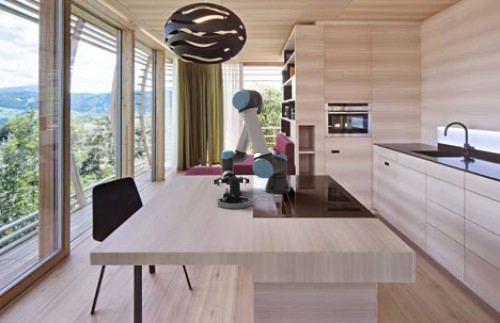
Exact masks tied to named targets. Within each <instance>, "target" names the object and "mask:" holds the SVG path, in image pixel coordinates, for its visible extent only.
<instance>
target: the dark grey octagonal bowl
mask: <svg viewBox="0 0 500 323" xmlns="http://www.w3.org/2000/svg"><path fill="white" fill-rule="evenodd" d="M222 199H223V197H220V198H217V199H216V205H217V207H219V208H223V209H226V210H229V209H231V210H233V209H234V210H235V209H236V210H237V209H246V208H248V207H252V206H253V200H252V198H251V197H247V196H240V197H239V203H225V202H223V200H222Z"/></svg>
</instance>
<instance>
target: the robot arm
mask: <svg viewBox="0 0 500 323" xmlns="http://www.w3.org/2000/svg"><path fill="white" fill-rule="evenodd" d="M263 102H264V101H263V97H262V94H261V93H260V92H258V91H257V90H254V89H245V88H244V89H243V88H242V89H238V90H236V91H235V92H234V93H233V95H232V97H231V104H232V106H233V107H234V108H235V109H236V110H238V114H239V115H240V116H241V117H242V119H243V123H242V126H241V129H240V133H239V137H238V140H237V143H236V148H235V150H232V149H231V150H230V149H227V150H226V149H224V150H222V152H221V156H220V158H221V175H220V176H221V177H220V176H219V177H217V178H215V179H213V184H214V185H216V186H219V187H222V185H223V184H226V185H227V186H230V178H231V177H237V176H236V175H235V172H234V171H235V168H234V167H235V165H237V164H239V165H240V164H243V163H246V162H247V160H248V159H249V157H248V153H247V152H248V148H249V145H250V144H251V147H252V149H253V154H254V155H253V157H252V159H253V165H252V171H253V173H254V175H255V176H256V177H257V178H259V179H267V181H266V185H265V188H264V190H265V192H266V193H268V194H287V193H290V191H291V190H290V189H291V187H290V185H289V182H288V156H287V155H286V154H277V153H275V154H274V153H273V152H272V151H271V150H269V147H268V144H267V141H266V138H265V135H264V131H263V129H262V125H261V122H260V119H259V116H260V115H261V113H262V109H263V106H264V105H263ZM239 178H240V180H239V182H240V184H242V185H244V187H247V184H250V178H247V177H243V176H239Z"/></svg>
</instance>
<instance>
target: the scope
mask: <svg viewBox="0 0 500 323" xmlns="http://www.w3.org/2000/svg"><path fill="white" fill-rule="evenodd" d="M239 177H240V176H239ZM239 177H238V176H236V177H231V178H230V185H229V188H228V187H225V191H224V193H223V194H222V198H223V199H222V200H223V202H225V203H239V197H240V196H241V197H243V192H242V191H241V183H240V182H239V180H240V178H239ZM228 189H229V190H228Z"/></svg>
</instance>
